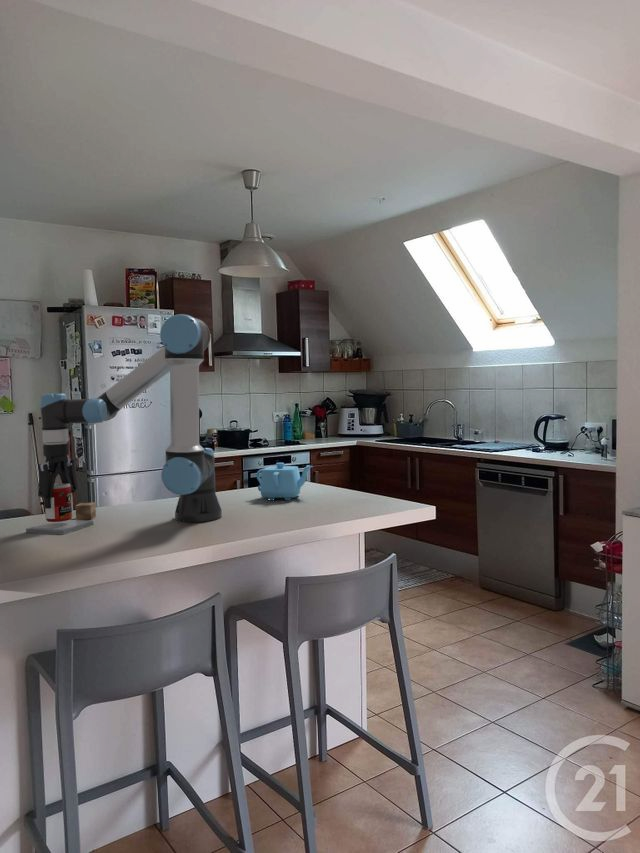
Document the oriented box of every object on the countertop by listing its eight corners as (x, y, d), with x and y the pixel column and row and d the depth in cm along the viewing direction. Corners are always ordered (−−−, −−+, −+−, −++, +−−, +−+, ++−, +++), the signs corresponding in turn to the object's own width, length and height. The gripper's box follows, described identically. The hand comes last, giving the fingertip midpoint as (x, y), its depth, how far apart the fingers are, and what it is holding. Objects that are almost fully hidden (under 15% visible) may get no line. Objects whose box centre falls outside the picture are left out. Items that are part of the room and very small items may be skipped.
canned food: (63, 522, 204) (61, 486, 203) (40, 522, 206) (38, 486, 205) (77, 517, 212) (75, 482, 211) (54, 517, 213) (52, 483, 213)
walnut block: (95, 517, 226) (95, 502, 226) (91, 520, 221) (90, 505, 221) (81, 517, 226) (80, 503, 226) (76, 520, 221) (75, 505, 221)
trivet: (93, 524, 213) (93, 520, 213) (63, 534, 200) (63, 530, 200) (57, 522, 218) (57, 519, 218) (26, 532, 204) (25, 528, 204)
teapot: (270, 503, 241) (269, 466, 240) (252, 497, 256) (251, 462, 255) (314, 498, 250) (313, 462, 249) (294, 492, 264) (293, 458, 264)
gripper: (68, 440, 218) (71, 509, 219) (21, 446, 198) (26, 522, 200) (87, 440, 216) (90, 509, 217) (42, 446, 196) (46, 523, 198)
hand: (59, 515), depth 209 cm, fingers closed on canned food, 8 cm apart
